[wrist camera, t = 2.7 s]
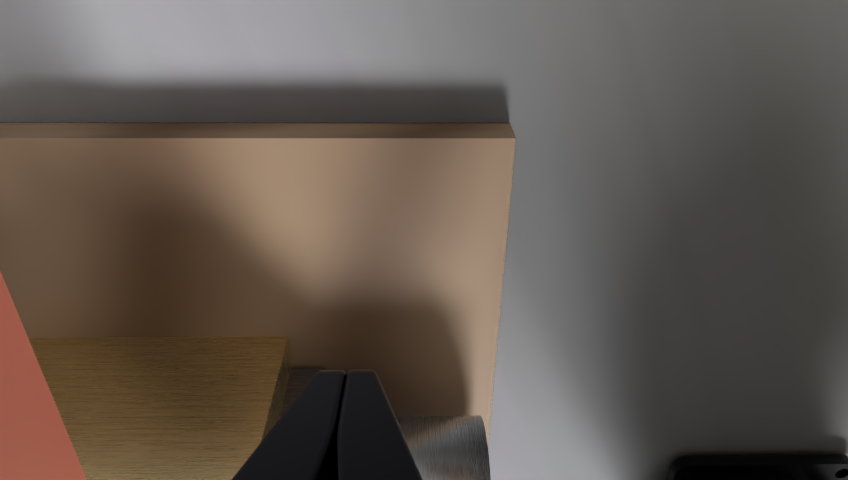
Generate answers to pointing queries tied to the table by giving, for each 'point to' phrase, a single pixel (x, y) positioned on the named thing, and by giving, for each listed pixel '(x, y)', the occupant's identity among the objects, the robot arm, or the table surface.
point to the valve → (207, 407)
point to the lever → (29, 410)
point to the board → (271, 242)
